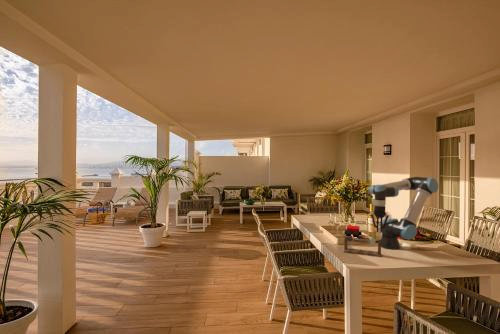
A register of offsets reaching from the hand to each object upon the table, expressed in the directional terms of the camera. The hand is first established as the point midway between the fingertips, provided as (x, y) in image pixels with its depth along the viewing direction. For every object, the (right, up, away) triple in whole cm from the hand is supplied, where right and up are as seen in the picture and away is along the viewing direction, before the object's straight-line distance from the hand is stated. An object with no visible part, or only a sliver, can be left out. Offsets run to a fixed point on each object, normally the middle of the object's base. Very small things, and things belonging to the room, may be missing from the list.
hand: (379, 236), depth 221 cm
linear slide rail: (-11, -14, +5) cm, 18 cm away
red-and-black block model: (-3, -13, +49) cm, 51 cm away
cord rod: (-11, -5, +5) cm, 13 cm away
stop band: (-17, -5, +7) cm, 19 cm away
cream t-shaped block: (-4, -6, +2) cm, 7 cm away
